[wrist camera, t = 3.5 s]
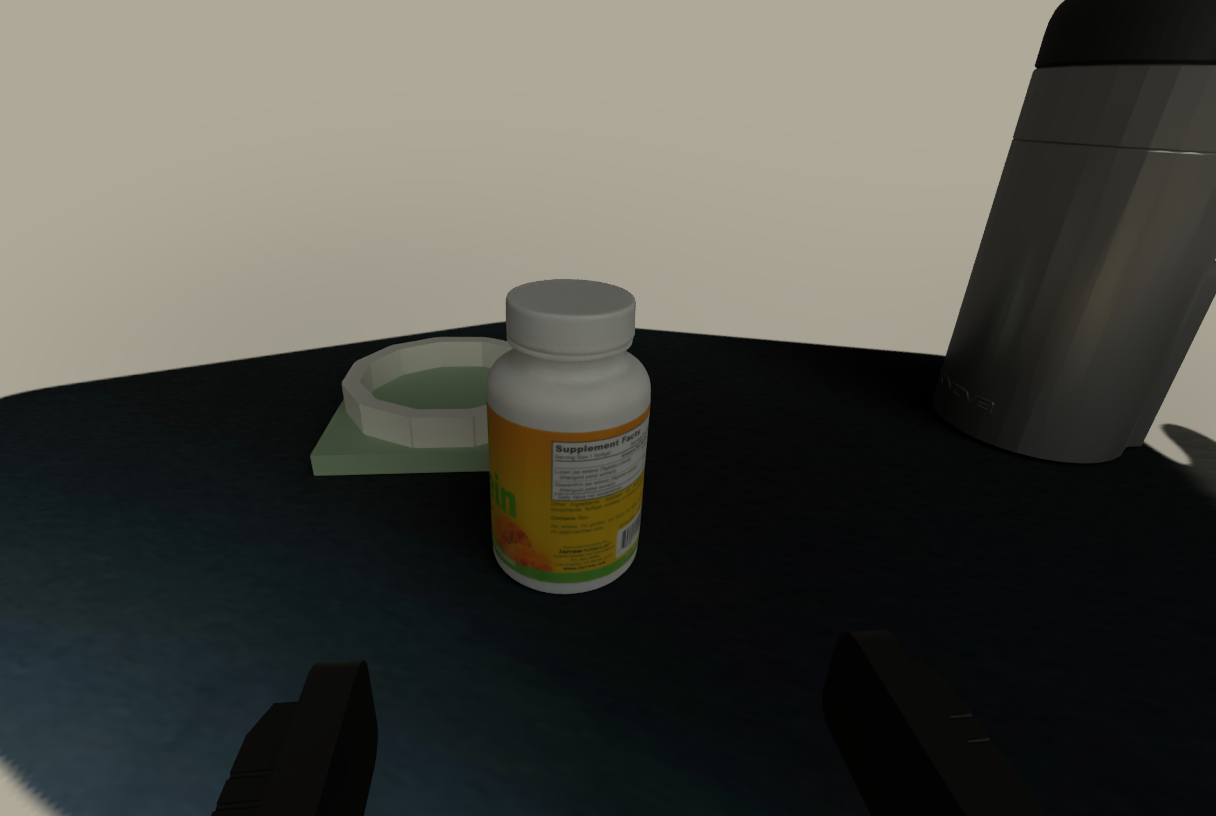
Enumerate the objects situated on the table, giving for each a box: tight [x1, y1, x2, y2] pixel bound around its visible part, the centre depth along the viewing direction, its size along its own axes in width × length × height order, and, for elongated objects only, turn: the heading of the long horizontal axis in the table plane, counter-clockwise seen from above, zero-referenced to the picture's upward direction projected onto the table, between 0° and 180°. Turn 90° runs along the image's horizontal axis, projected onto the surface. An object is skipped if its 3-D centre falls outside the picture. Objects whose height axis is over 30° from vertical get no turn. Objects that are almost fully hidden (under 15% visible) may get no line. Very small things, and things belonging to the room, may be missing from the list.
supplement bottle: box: [486, 279, 651, 594], centre depth 21 cm, size 5×5×10 cm
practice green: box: [310, 337, 513, 476], centre depth 32 cm, size 11×11×2 cm
